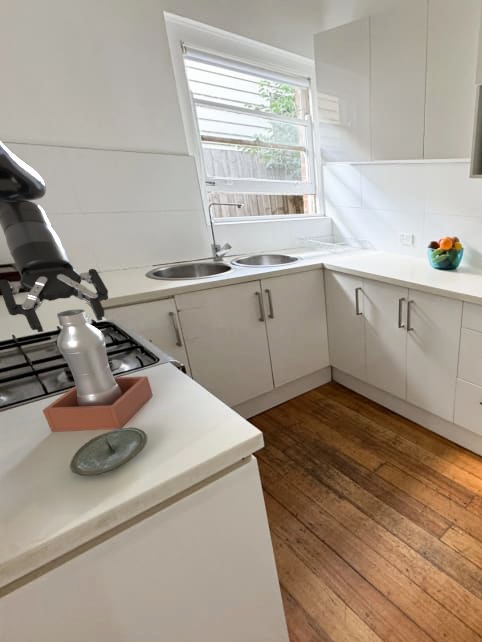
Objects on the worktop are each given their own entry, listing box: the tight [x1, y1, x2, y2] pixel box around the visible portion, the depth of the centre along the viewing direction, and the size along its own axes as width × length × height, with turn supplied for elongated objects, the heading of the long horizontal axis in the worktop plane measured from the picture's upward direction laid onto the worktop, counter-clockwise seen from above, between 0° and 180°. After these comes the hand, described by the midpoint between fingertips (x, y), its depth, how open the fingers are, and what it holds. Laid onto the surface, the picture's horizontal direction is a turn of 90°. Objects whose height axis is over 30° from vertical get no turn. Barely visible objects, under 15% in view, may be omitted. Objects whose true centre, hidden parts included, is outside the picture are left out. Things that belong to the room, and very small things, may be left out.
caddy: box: [42, 375, 154, 432], centre depth 74 cm, size 12×12×5 cm
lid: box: [69, 427, 148, 477], centre depth 62 cm, size 11×10×5 cm
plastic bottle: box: [56, 308, 122, 407], centre depth 70 cm, size 6×7×20 cm
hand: (71, 324), depth 70 cm, fingers open, 8 cm apart
